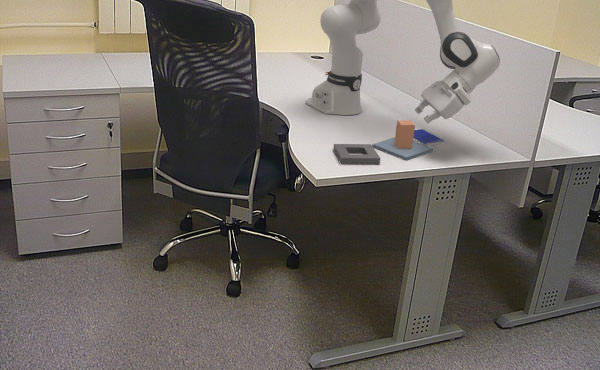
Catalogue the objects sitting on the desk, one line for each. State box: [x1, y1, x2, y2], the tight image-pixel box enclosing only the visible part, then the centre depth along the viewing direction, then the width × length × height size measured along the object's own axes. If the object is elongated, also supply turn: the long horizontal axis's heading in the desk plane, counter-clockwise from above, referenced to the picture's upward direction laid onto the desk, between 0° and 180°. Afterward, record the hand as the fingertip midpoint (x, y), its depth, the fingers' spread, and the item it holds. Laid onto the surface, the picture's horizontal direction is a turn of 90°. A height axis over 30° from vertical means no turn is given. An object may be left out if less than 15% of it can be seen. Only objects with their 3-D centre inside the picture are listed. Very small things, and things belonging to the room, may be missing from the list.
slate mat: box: [371, 137, 434, 161], centre depth 210 cm, size 14×14×1 cm
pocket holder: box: [332, 143, 381, 165], centre depth 201 cm, size 12×12×2 cm
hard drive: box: [413, 128, 446, 147], centre depth 221 cm, size 2×8×12 cm
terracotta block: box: [394, 119, 416, 149], centre depth 208 cm, size 4×4×8 cm
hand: (420, 116), depth 206 cm, fingers open, 8 cm apart
